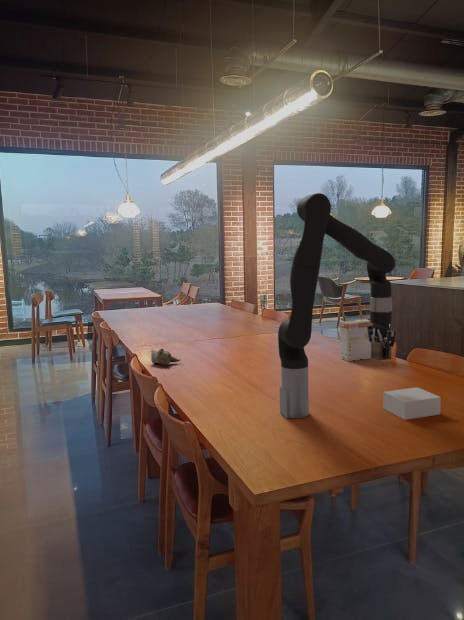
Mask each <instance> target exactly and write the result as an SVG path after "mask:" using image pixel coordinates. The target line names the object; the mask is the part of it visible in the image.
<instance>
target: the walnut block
mask: <svg viewBox="0 0 464 620" xmlns="http://www.w3.org/2000/svg"><path fill="white" fill-rule="evenodd" d="M390 343H391V341H390ZM385 344H386V341H385ZM371 359H374V360H377V361H380V362H381V361H385V360H391V359H392V347H390V348H389V358H383V346H382V342H381V341H371Z"/></svg>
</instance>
